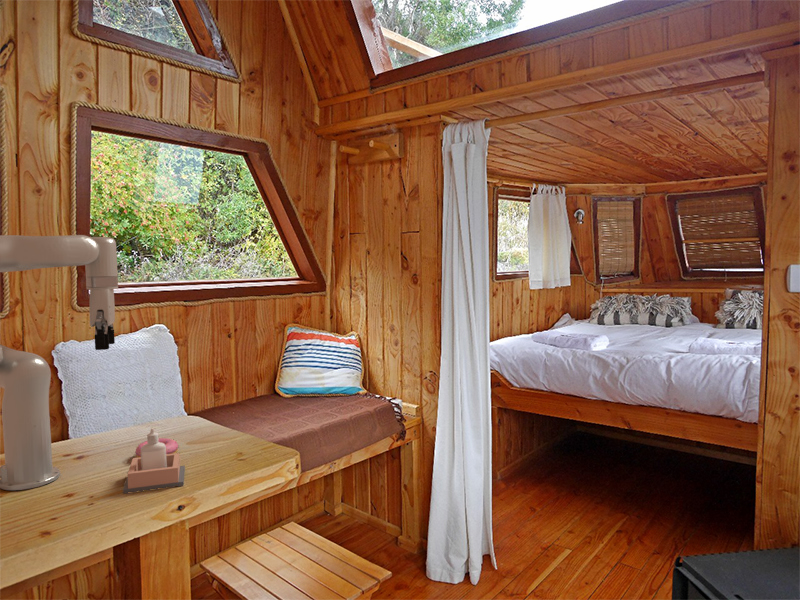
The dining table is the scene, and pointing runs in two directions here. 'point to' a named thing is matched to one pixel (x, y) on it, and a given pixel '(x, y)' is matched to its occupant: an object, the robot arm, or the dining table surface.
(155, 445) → the squeeze bottle
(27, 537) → the dining table surface
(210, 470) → the dining table surface
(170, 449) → the doughnut
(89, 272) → the robot arm
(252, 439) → the dining table surface
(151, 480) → the socket stand
